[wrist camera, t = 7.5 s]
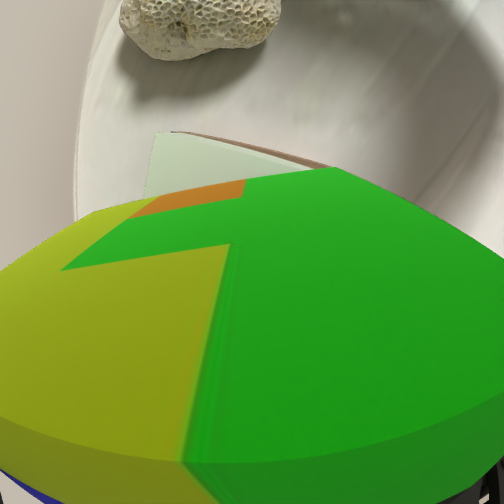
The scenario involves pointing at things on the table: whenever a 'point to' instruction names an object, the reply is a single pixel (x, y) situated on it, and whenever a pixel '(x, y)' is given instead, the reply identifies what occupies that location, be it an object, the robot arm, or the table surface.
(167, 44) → the decorative item
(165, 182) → the sage slab
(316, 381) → the puzzle toy
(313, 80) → the table surface
